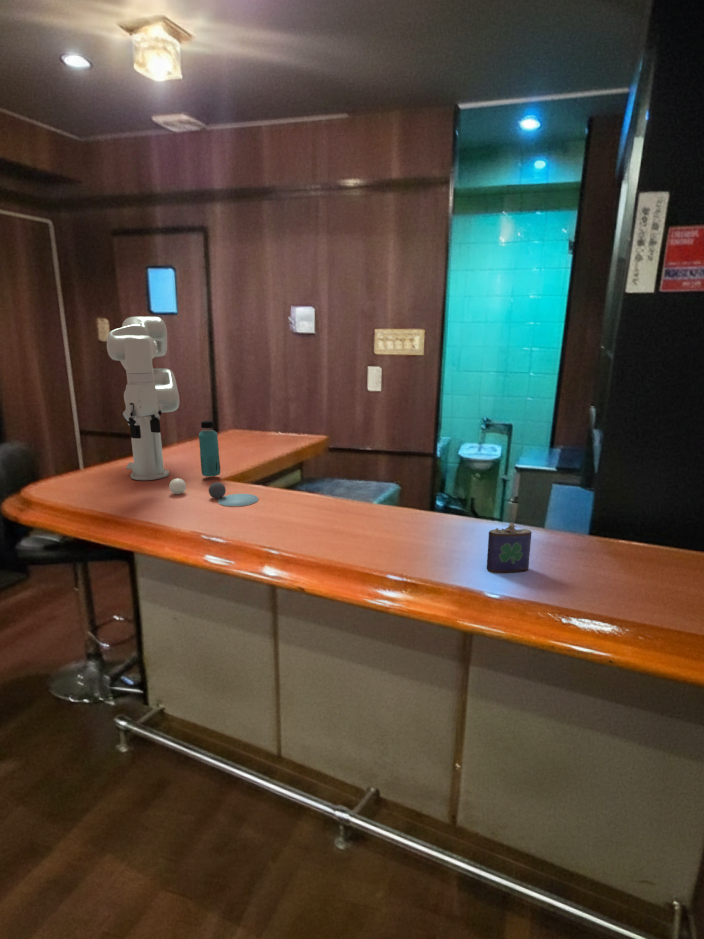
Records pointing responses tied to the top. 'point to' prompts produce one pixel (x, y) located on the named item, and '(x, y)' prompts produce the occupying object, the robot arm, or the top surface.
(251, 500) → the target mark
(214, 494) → the object ball
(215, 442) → the beverage bottle
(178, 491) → the cue ball
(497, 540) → the flask
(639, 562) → the top surface
